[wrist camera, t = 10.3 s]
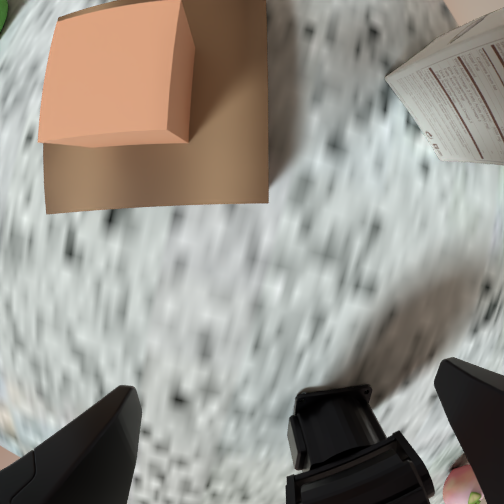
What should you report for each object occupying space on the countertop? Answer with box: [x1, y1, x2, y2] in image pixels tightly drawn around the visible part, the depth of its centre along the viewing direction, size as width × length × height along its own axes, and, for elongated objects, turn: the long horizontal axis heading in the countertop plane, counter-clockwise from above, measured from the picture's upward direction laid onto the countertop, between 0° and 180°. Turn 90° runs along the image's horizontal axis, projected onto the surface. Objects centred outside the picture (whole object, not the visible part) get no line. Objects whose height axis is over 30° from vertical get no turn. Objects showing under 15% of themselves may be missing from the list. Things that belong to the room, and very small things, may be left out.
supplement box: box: [385, 8, 504, 165], centre depth 11 cm, size 7×7×13 cm
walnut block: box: [43, 0, 269, 214], centre depth 14 cm, size 12×12×4 cm
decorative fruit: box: [443, 465, 484, 504], centre depth 26 cm, size 9×8×10 cm
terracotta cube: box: [38, 0, 195, 148], centre depth 10 cm, size 5×5×5 cm
